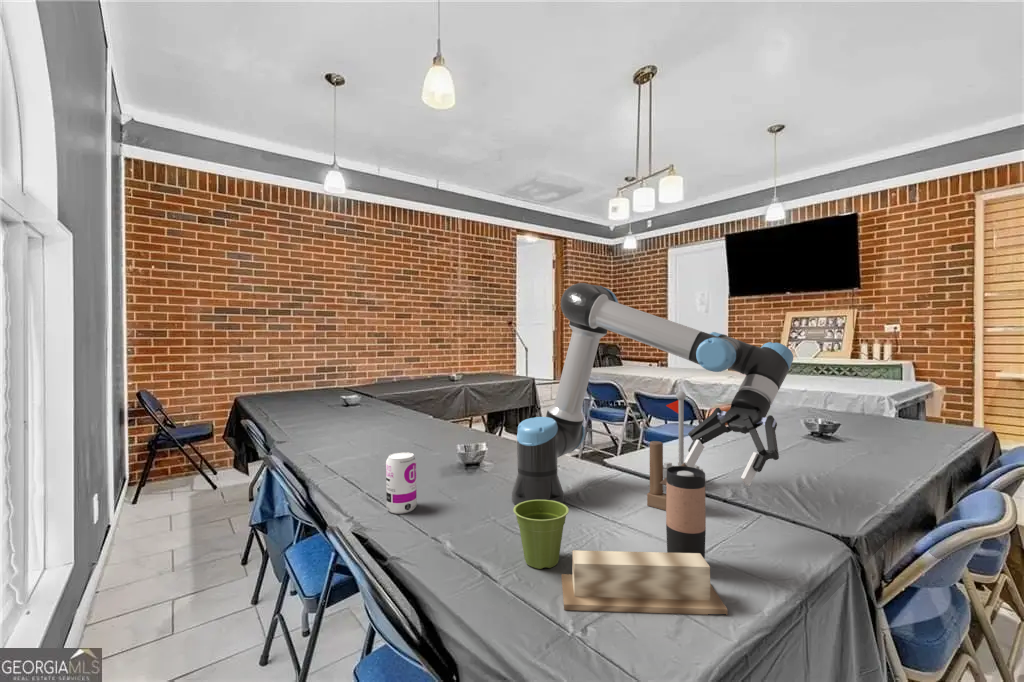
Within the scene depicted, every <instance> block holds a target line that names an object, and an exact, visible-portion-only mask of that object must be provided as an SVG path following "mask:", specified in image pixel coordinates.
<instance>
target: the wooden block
mask: <svg viewBox="0 0 1024 682" xmlns="http://www.w3.org/2000/svg"><path fill="white" fill-rule="evenodd" d="M663 465H664V443H663V442H661V441H655V440H652V441H650V442H649V492H648V493H646V496H647V497H646V501H647V502H646V504H647V507H651V508H653V509H654V508H655V509H659V510H663V511H666V493H665V492H664V486H666V485H667V477H666V478H665V479H664V480H663ZM681 466H687V465H686V464H685V463H684V464H682V465H681Z"/></svg>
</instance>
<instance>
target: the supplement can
mask: <svg viewBox="0 0 1024 682" xmlns="http://www.w3.org/2000/svg"><path fill="white" fill-rule="evenodd" d="M385 469H386V470H385V486H386V490H385V491H386V492H385V493H386V499H385V500H386V511H388V512H389V513H392V514H395V515H396V514H397V515H399V514H400V515H402V514H406V513H411V512H412V511H414V509H415V508H416V507H417V506H418V504H417V502H418V501H417V500H418V499H417V497H418V495H417V458H416V457H415V455H414V453H412V452H408V451H407V452H403V451H402V452H394V453H391V454H389V455H388V457H387V459H386V461H385Z"/></svg>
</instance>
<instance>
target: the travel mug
mask: <svg viewBox="0 0 1024 682" xmlns="http://www.w3.org/2000/svg"><path fill="white" fill-rule="evenodd" d="M672 466H673V467H669V468H668V469H667V486H666V485H665V486H666V512H665V513H666V514H665V518H666V519H665V520H666V521H665V524H666V526H665V527H666V528H665V531H666V553H700V554H701V555H702V557H703V558H704V559H705V560H706V534H707V533H706V531H707V530H706V529H707V528H706V527H707V526H706V524H707V522H706V520H707V519H706V518H707V517H706V473H705V471H704V470H703V471H702V470H700V469H701V468H699V469H697V468H693V467H687V466H678V465H675V466H674V465H672Z"/></svg>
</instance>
